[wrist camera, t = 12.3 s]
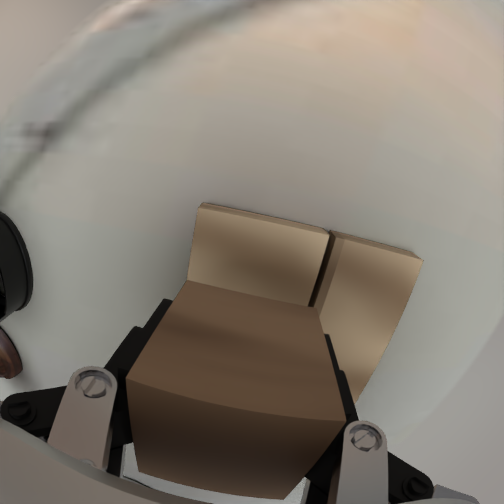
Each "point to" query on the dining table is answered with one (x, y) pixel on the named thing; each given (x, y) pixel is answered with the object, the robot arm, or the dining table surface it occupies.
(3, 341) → the mortar and pestle
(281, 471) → the walnut block
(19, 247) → the french press
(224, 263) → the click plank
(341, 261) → the laid board
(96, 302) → the dining table surface
